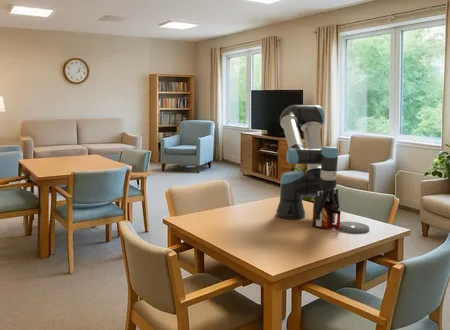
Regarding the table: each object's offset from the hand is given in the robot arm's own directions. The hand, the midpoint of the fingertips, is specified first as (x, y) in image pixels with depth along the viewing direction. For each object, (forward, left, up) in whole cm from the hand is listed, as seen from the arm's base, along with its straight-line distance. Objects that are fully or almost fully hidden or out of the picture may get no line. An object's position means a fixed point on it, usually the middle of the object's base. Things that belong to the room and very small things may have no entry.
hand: (325, 224), depth 218 cm
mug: (0, +1, -2) cm, 2 cm away
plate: (+9, +9, -1) cm, 13 cm away
